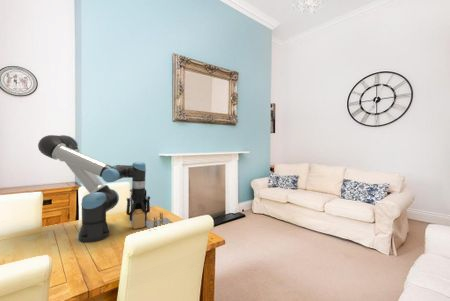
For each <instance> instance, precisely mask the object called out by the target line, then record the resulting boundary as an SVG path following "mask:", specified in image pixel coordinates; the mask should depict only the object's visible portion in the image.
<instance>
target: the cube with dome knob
mask: <svg viewBox="0 0 450 301" xmlns="http://www.w3.org/2000/svg"><path fill="white" fill-rule="evenodd" d="M133 216H134V226H132V228H133V229H141V228H145V225H144V217H145V213H144V212H143V211H142V210H141V209H137V210H135V211H134V212H133Z"/></svg>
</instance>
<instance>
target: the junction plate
mask: <svg viewBox="0 0 450 301" xmlns="http://www.w3.org/2000/svg"><path fill="white" fill-rule="evenodd" d="M168 223H174V222H173V221H171V220H170V218H168V217H165V218H164V217H163V221H160V218H159V219H158V218H157V226H161V225H165V224H168ZM157 226H154V219H152V220H146V221H145V224H144V227H146V229H147V230H148V229H150V228H154V227H157Z"/></svg>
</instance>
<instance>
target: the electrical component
mask: <svg viewBox="0 0 450 301" xmlns="http://www.w3.org/2000/svg"><path fill="white" fill-rule="evenodd" d="M132 188H133V187H132V186H131V188H130V189H129V192H130V197H131V196H132ZM145 195H146V196H147V189H145ZM143 201H144V205H145V208H146V209H147V202H146V198H145V199H144V200H143ZM132 205H133V200H132V199H131V201H130V209H131V208H132ZM137 209H141V210H142V211H143V207H142V204H141V203H137V204H136V206H135V209H134V211H135V210H137ZM143 212H144V211H143ZM146 221H147V218H146V219H145V222H146Z"/></svg>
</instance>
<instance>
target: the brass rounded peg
mask: <svg viewBox="0 0 450 301" xmlns="http://www.w3.org/2000/svg"><path fill="white" fill-rule="evenodd" d="M163 218H164V213H163V212H159V219H160V221H163Z"/></svg>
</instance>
